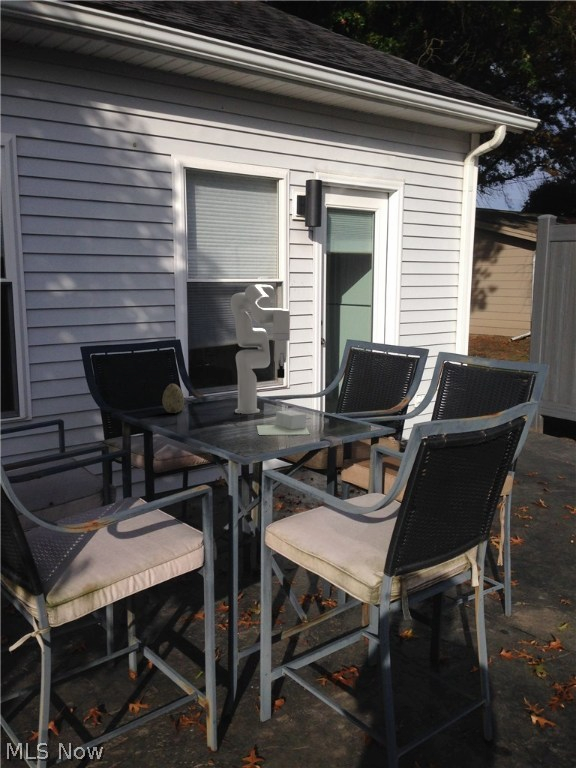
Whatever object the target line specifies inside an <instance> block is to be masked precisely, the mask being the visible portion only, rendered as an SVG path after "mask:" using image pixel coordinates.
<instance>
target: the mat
mask: <svg viewBox="0 0 576 768" xmlns="http://www.w3.org/2000/svg"><path fill="white" fill-rule="evenodd" d="M256 431H257V434H259V435H271V436H310V435H311V433H310V431H309V430H308V428H307V427H306V428H301V429H292V430H291V429H288V428H285V427H281V426H278V425H276V424H275V425H274V424H272V425H271V424H269V425H267V424H265V425H256ZM309 434H310V435H309ZM259 435H258V436H259Z"/></svg>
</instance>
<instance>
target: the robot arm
mask: <svg viewBox="0 0 576 768" xmlns="http://www.w3.org/2000/svg"><path fill="white" fill-rule="evenodd" d="M275 291H276V290H275V289H274V287H273V286H272V285H270V284H250V285H248V286H247V287H246V289H245V290H244V292H237V293H234V294H233V295H232V296H231V298H230V310H231V313H232V315H233V318H234V321H235V322H234V324H235V334H236V335H235V336H236V341H237V345H238V346H239V347H242V348H257V349H242V350H239V351H238V352H237V353H236V354H235V363H236V370H237V408H236V409H234V412H235V414H240V413H241V414H242V415H251V414H254V415H255V414H258V413H260V412H261V410H260V409H259V408H257V407H258V394H257V393H258V391H257V390H258V389H257V387H258V383H257V382H258V379H257V376H256V373H255V372H254V371H253V369H266V368H268V367H269V365H270V364H271V354H270V353H271V351H270V350H271V349H270V343H269V342H270V340H269V334H268V332H267V330H266V329H265V328H262V327H258V328H257V327H253V320H254V321H255V322H256V323H257V324H258V325H260V326H266V325H269V326H272V341H274V352H273V353H274V356H273V361H274V363H275V364H276V363H277V369H276V371H277V372H276V378H278V379H285V377H286V376H285V373H286V372H285V363H286V362H287V357H288V355H287V352H288V350H287V349H288V341H290V334H291V333H290V328H291V327H290V325H291V324H290V323H291V318H290V317H291V313H290V310H289V309H287V308H282V307H281V308H280V307H271V305H272V304H271V303H273V302H274V301H275V297H276V292H275ZM247 310H250V313H251V315H250V314H249V313H248V312H247ZM241 414H240V415H241Z"/></svg>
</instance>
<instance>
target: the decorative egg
mask: <svg viewBox="0 0 576 768" xmlns="http://www.w3.org/2000/svg"><path fill="white" fill-rule="evenodd" d="M161 400H162V401H161V402H162V405H163V408H164V410H165V411H166V412H167V413H170V414H172V413H175V414H177V412H178V413H179V412H181V411H182V409H183V408H184V404H185V396H184V393H183V391H182V389H181V387H179V386H178V385H177V384H176V383H169V384H168V385H167V386H166V388H165V390H164V391H163V394H162V399H161Z"/></svg>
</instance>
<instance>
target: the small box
mask: <svg viewBox="0 0 576 768" xmlns="http://www.w3.org/2000/svg"><path fill="white" fill-rule="evenodd" d="M275 425H278V426H281V427H285V428H288V429H291V430H292V429H301V428H307V414H305V413H303V412H298V411H295V410H291V409H290V410H278V411H275Z"/></svg>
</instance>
